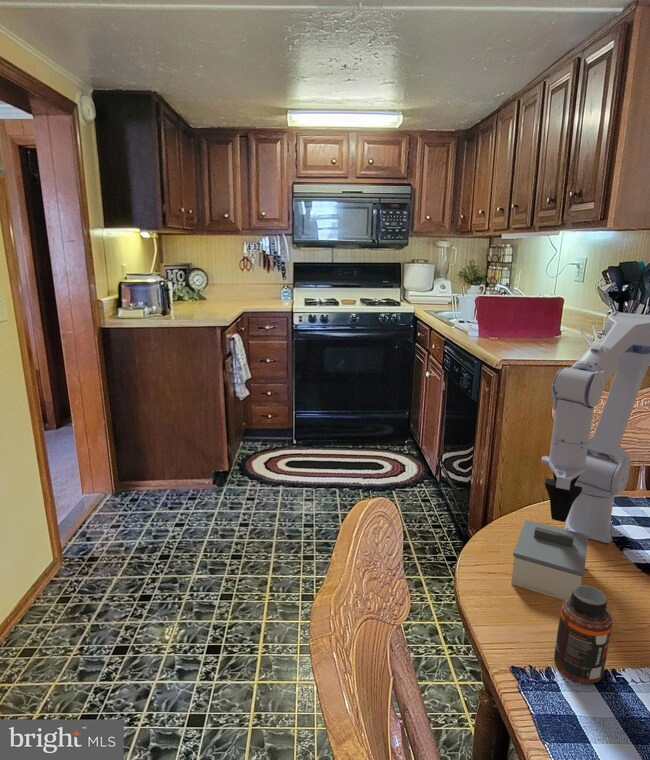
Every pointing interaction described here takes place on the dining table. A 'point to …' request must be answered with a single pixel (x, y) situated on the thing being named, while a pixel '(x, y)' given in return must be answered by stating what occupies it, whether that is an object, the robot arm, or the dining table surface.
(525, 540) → the lid
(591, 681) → the supplement bottle
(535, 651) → the dining table surface
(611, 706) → the dining table surface
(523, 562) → the box
